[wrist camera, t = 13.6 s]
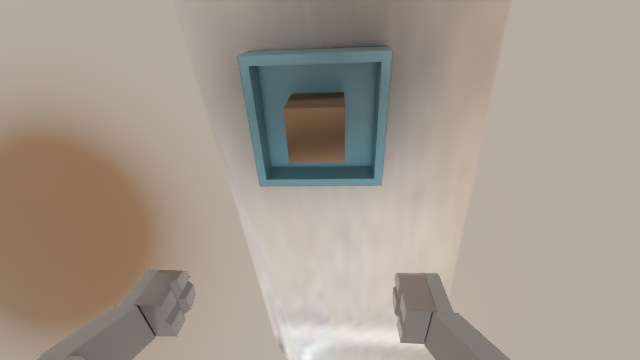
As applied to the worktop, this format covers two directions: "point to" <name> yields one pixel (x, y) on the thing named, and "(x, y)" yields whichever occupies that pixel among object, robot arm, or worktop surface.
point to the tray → (318, 77)
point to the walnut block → (315, 127)
